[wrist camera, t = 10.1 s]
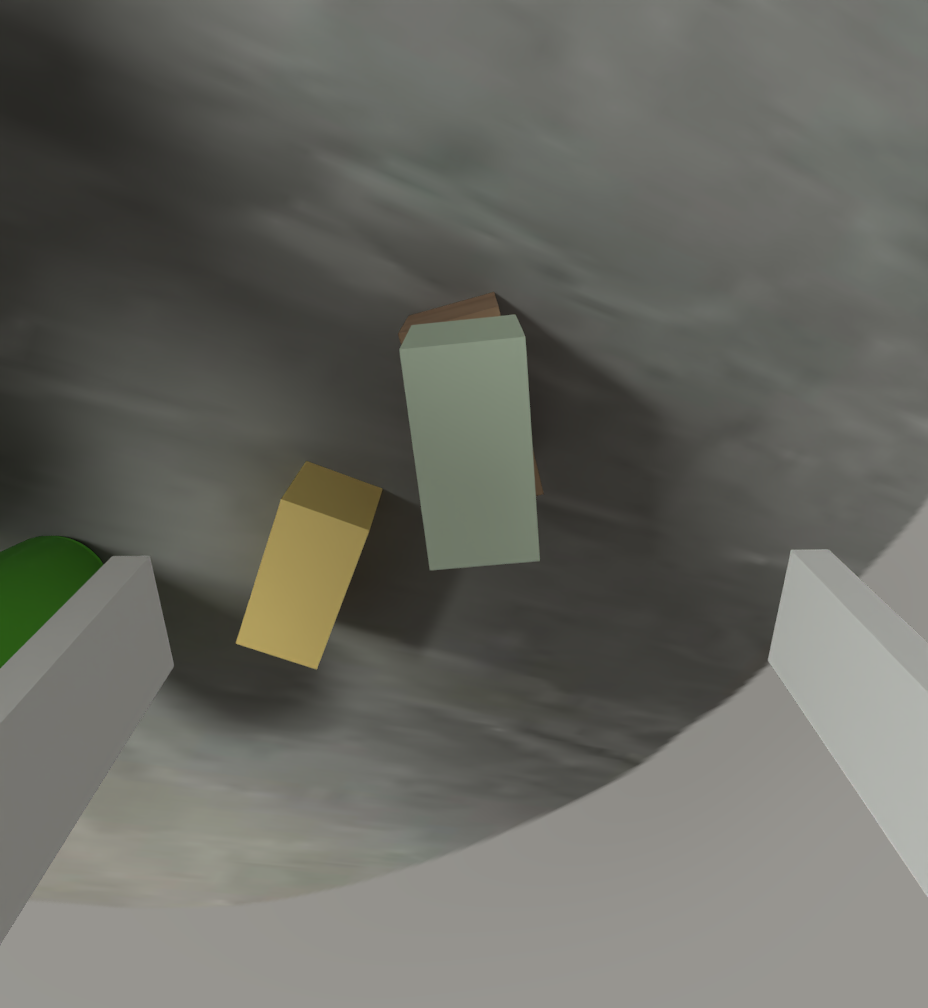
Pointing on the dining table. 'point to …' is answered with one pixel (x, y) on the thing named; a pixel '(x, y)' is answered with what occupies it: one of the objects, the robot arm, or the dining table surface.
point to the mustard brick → (308, 564)
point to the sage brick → (472, 440)
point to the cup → (38, 585)
